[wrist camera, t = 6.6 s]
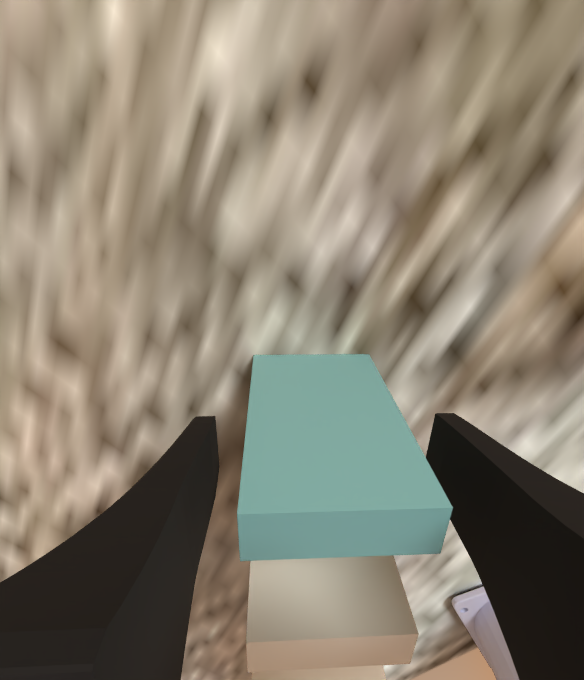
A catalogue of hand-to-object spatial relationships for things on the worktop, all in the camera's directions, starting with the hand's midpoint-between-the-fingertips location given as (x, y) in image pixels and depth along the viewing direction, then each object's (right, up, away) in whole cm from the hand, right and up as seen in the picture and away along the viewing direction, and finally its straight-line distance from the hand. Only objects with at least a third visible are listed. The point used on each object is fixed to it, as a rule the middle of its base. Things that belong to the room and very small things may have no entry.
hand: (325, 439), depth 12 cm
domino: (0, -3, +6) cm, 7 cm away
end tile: (0, +2, +4) cm, 5 cm away
